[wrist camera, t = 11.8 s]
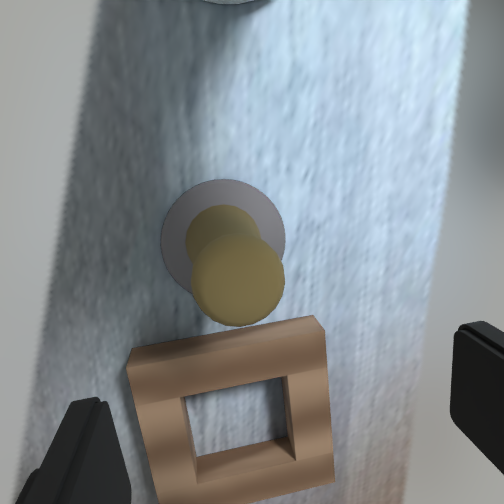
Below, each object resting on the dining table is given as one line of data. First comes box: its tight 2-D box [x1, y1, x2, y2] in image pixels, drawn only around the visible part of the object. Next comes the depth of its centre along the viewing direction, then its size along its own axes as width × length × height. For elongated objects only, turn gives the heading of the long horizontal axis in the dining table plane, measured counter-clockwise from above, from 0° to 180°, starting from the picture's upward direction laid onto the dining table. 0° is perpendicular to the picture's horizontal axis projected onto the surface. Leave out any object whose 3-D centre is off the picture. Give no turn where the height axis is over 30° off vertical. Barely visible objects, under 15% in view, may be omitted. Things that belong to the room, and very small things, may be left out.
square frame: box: [126, 315, 335, 504], centre depth 32 cm, size 16×16×3 cm
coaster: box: [161, 179, 285, 294], centre depth 29 cm, size 10×10×1 cm
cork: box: [185, 204, 285, 327], centre depth 24 cm, size 6×6×11 cm
